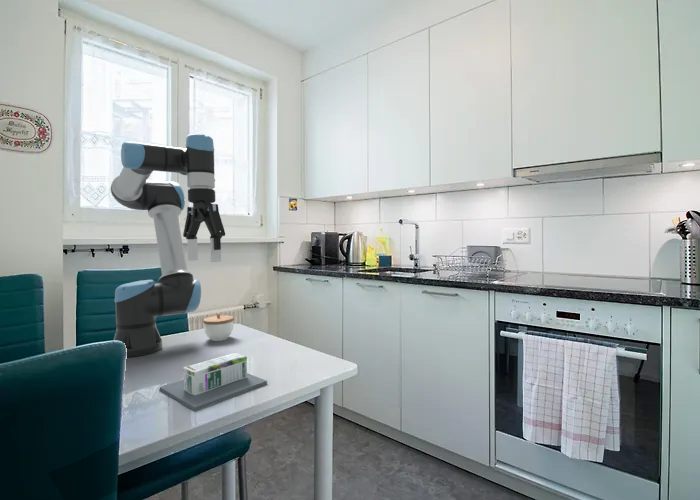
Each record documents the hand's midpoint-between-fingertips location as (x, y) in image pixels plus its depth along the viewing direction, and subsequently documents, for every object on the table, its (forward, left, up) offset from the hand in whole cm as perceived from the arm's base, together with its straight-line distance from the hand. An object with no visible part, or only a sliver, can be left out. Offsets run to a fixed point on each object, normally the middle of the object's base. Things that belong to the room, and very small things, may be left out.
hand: (204, 261), depth 111 cm
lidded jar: (-23, +17, -31) cm, 42 cm away
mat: (+18, -8, -31) cm, 36 cm away
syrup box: (+19, 0, -27) cm, 33 cm away
